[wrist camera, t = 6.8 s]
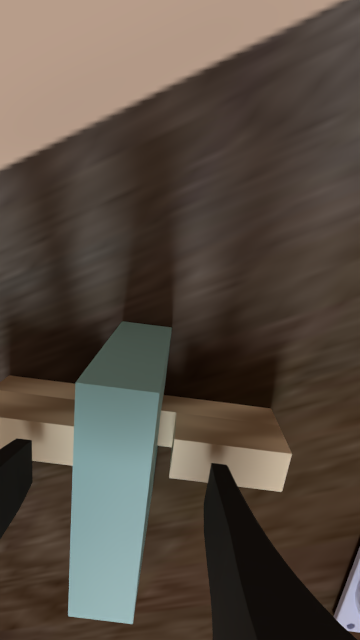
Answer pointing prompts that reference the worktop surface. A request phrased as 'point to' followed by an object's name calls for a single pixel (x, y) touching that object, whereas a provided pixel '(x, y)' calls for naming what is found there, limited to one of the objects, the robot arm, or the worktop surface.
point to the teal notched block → (115, 469)
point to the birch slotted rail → (174, 431)
